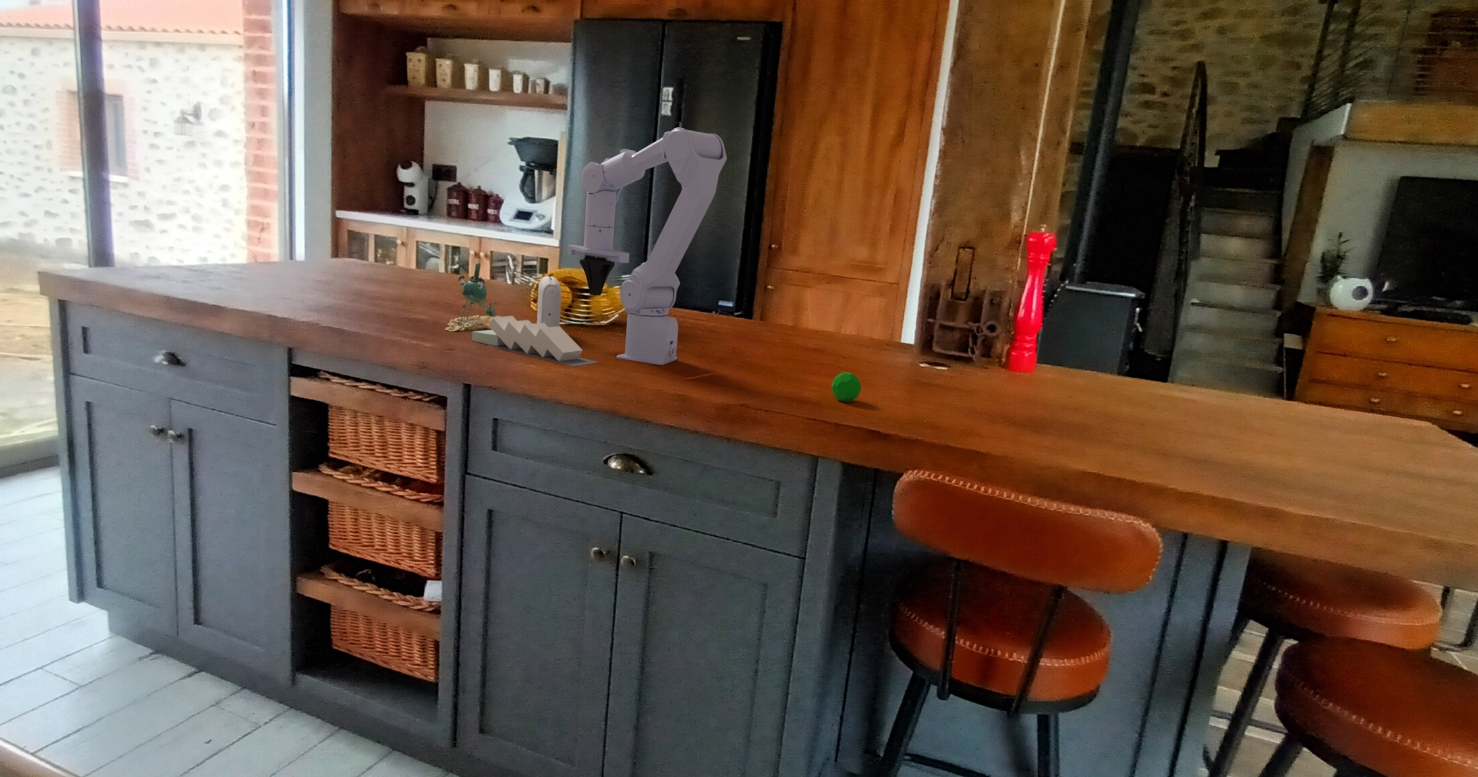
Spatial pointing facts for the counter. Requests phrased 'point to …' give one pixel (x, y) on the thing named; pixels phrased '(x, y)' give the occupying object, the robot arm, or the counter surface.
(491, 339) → the pale green rectangular block
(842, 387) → the polyhedron
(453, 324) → the teal and tan figure
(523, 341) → the domino
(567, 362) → the domino mat
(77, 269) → the counter surface
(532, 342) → the domino
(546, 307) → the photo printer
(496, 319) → the domino
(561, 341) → the domino
